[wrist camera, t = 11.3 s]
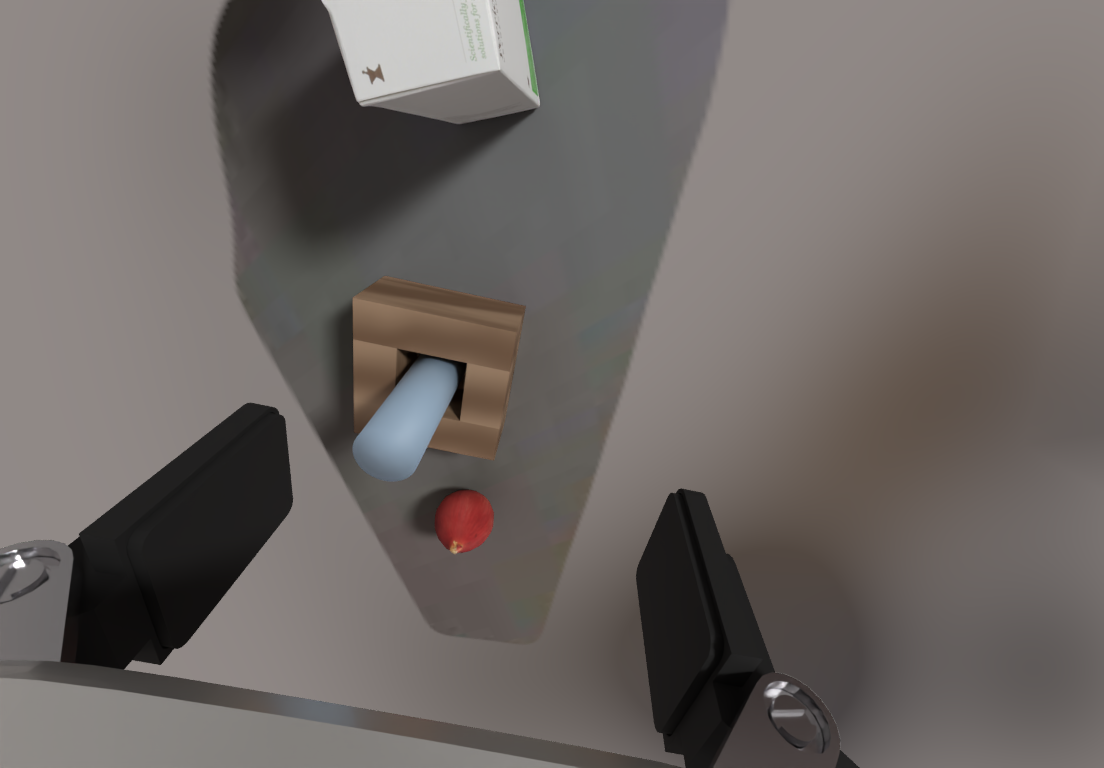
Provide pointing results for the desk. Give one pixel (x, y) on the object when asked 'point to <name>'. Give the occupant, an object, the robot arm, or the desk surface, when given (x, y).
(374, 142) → the desk surface
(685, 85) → the desk surface
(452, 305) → the bore block
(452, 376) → the pin
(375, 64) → the skincare box
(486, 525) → the onion
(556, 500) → the desk surface
